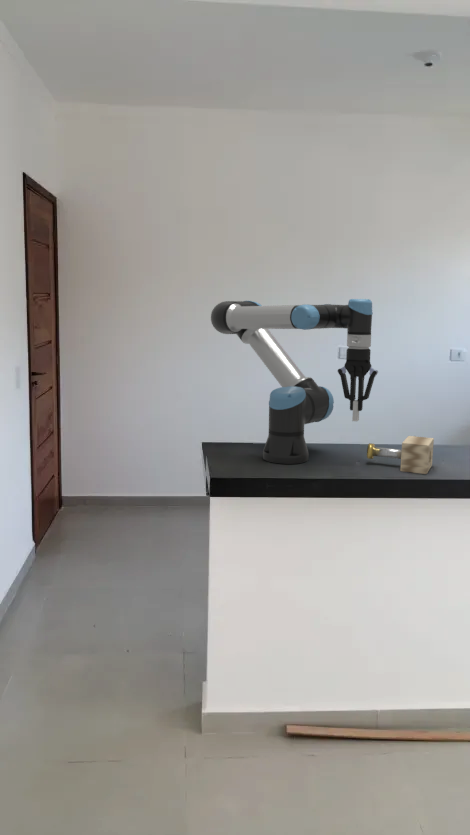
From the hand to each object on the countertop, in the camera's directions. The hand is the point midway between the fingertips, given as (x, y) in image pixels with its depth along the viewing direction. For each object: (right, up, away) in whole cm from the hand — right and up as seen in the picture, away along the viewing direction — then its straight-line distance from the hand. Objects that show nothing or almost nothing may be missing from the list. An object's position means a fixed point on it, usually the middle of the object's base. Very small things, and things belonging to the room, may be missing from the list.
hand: (355, 420), depth 226 cm
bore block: (+18, -15, -5) cm, 24 cm away
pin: (+10, -13, -2) cm, 17 cm away
